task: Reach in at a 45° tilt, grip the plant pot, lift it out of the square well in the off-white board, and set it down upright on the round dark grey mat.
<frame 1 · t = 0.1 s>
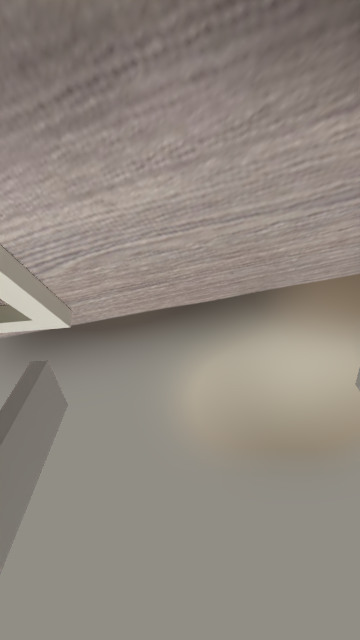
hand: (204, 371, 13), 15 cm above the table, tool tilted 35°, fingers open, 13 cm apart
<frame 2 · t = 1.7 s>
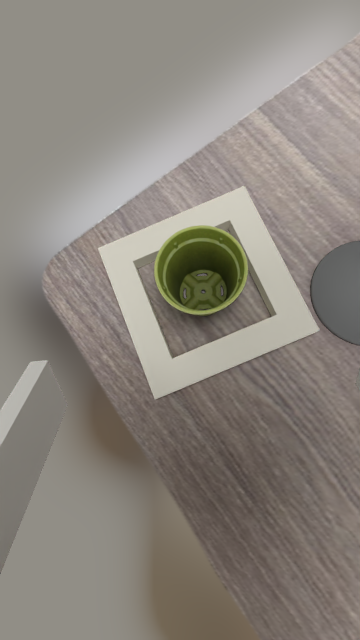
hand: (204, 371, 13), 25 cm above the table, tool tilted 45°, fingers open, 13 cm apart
well board: (202, 292, 40), on the table
plant pot: (202, 293, 40), resting in well board
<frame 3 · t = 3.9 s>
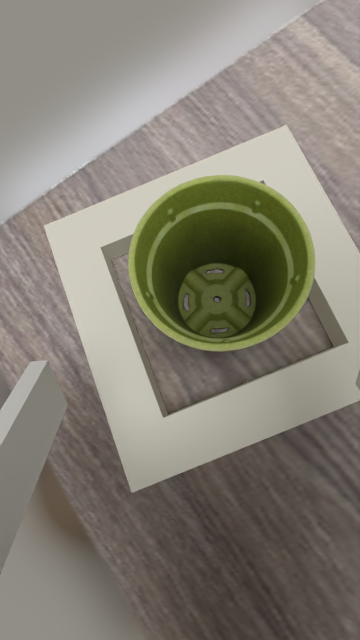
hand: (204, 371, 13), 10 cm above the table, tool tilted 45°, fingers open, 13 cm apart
well board: (215, 300, 24), on the table
plant pot: (215, 301, 24), resting in well board
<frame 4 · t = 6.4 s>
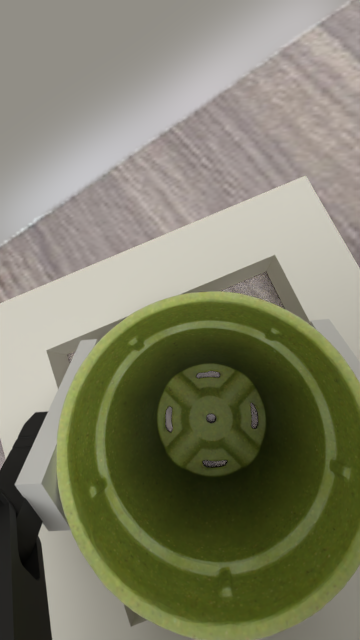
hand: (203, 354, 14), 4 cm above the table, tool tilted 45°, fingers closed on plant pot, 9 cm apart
well board: (209, 417, 17), on the table
plant pot: (209, 417, 18), resting in well board, touching gripper
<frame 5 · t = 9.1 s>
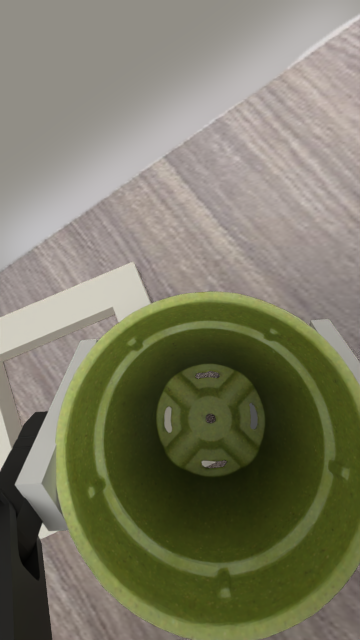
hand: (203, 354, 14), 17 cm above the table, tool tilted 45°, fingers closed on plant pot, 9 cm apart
well board: (81, 396, 31), on the table
plant pot: (208, 417, 18), point 13 cm above the table, touching gripper
when the fingers open (6 cm above the table, at t = 12.2 s): plant pot drops 1 cm, resting on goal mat.
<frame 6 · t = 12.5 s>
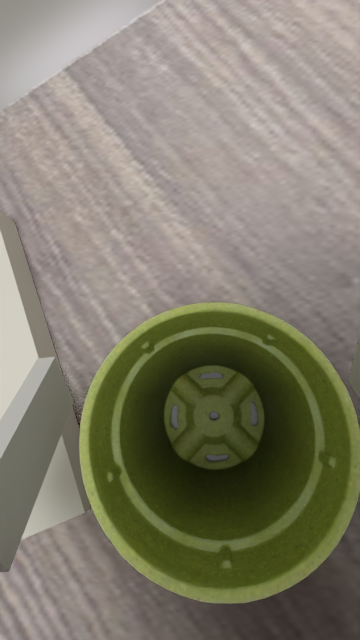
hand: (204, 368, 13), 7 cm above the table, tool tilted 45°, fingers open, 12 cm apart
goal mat: (209, 413, 19), on the table
plant pot: (211, 415, 19), resting on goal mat
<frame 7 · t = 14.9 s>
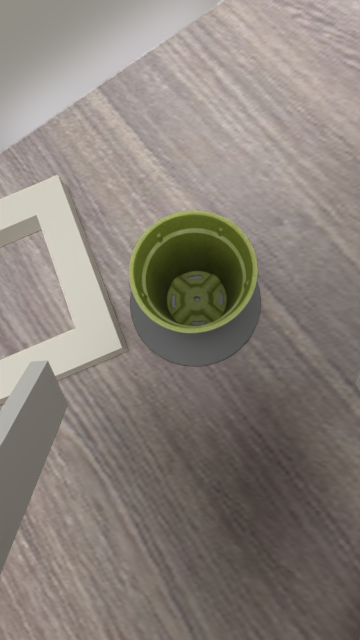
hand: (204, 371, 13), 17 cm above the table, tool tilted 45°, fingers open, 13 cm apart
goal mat: (194, 301, 32), on the table
well board: (9, 301, 33), on the table
plant pot: (195, 300, 31), resting on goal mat
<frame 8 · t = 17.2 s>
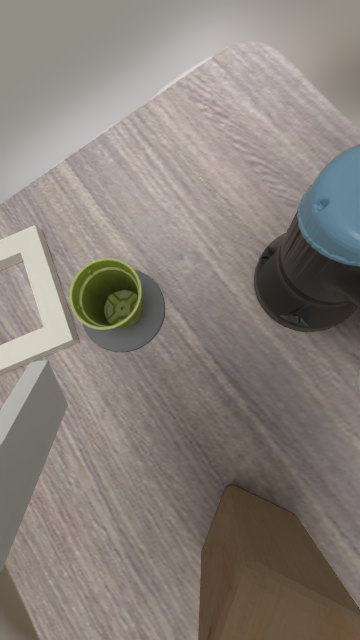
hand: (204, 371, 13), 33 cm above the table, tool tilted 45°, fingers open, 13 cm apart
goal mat: (123, 310, 48), on the table
wooden block: (248, 534, 41), on the table
well board: (3, 308, 50), on the table
plant pot: (123, 309, 48), resting on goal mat
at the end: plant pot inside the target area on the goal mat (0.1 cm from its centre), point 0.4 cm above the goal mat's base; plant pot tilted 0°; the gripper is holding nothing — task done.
